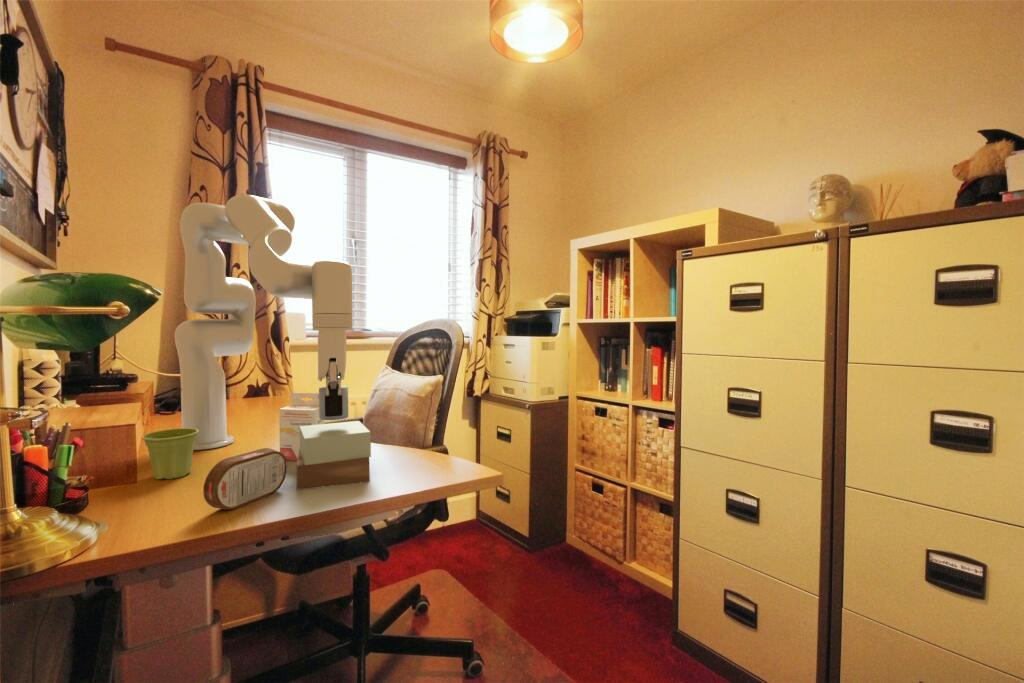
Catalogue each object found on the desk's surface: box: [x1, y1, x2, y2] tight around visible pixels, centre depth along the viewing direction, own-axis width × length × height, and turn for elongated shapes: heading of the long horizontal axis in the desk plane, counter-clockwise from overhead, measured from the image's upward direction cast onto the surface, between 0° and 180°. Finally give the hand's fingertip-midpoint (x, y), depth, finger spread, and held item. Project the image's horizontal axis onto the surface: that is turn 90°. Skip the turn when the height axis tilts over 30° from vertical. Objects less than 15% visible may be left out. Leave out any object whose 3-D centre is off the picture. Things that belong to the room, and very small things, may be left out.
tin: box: [202, 447, 288, 511], centre depth 85 cm, size 15×3×8 cm, turn 159°
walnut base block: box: [296, 450, 371, 491], centre depth 99 cm, size 13×13×5 cm
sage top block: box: [299, 420, 372, 465], centre depth 99 cm, size 12×12×5 cm
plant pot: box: [141, 427, 199, 480], centre depth 99 cm, size 9×9×9 cm
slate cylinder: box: [318, 385, 349, 421], centre depth 98 cm, size 6×6×6 cm
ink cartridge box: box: [279, 392, 325, 462], centre depth 111 cm, size 9×5×15 cm, turn 84°
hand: (334, 412), depth 98 cm, fingers closed on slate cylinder, 5 cm apart
